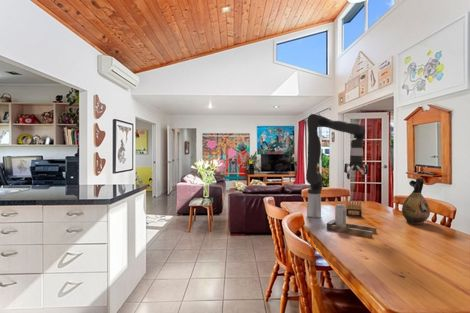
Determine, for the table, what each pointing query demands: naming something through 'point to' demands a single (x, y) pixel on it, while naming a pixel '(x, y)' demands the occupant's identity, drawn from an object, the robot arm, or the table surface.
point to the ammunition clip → (353, 209)
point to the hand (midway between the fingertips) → (355, 179)
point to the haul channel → (352, 229)
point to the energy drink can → (340, 215)
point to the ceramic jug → (416, 204)
